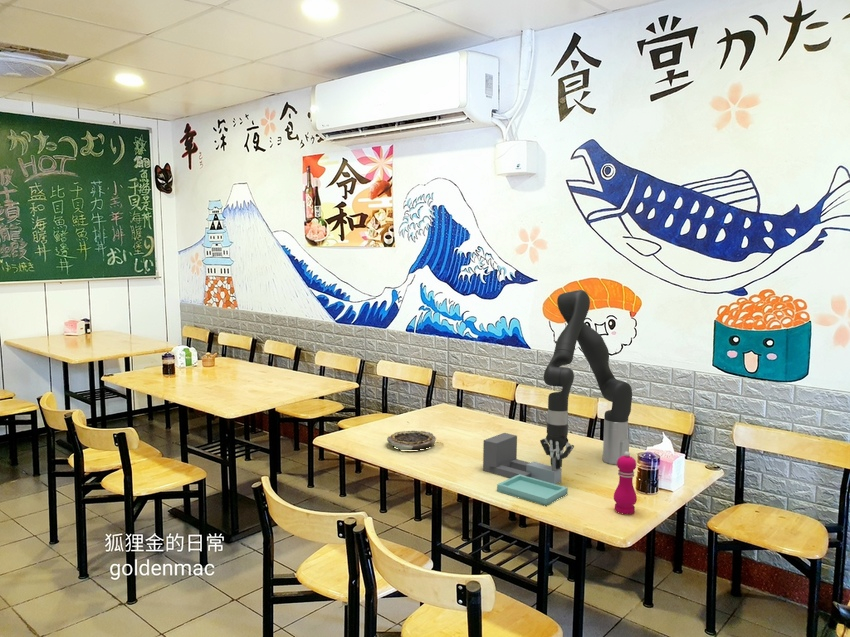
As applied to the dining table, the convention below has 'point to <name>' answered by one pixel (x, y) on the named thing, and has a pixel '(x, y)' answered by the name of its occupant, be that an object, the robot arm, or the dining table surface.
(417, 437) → the pie
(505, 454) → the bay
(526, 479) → the tray
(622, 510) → the pepper mill
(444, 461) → the dining table surface
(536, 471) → the grey block with peg
